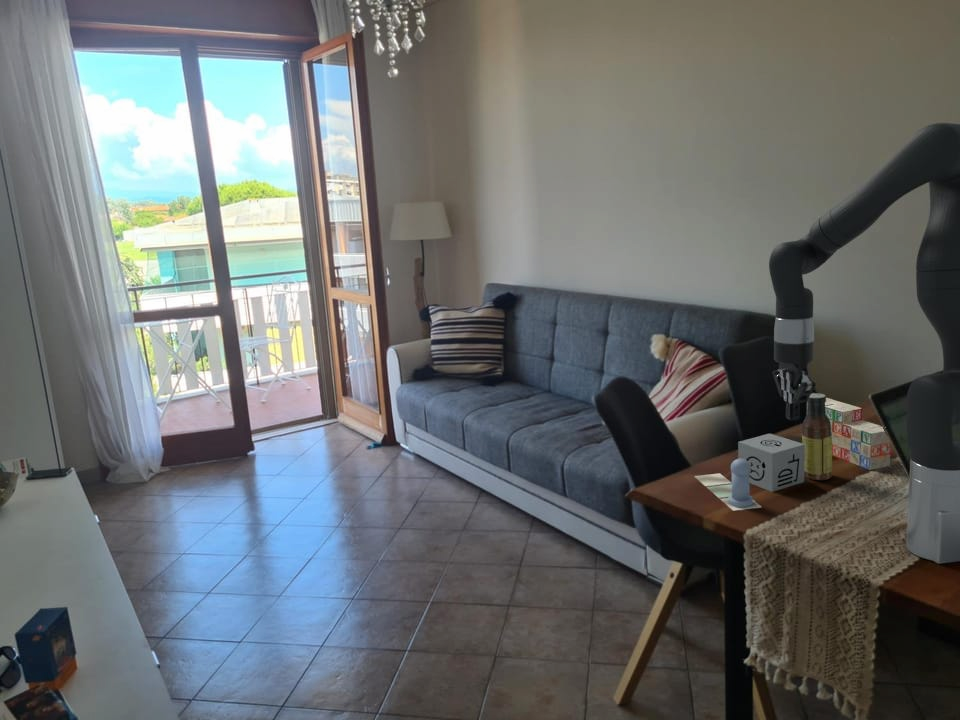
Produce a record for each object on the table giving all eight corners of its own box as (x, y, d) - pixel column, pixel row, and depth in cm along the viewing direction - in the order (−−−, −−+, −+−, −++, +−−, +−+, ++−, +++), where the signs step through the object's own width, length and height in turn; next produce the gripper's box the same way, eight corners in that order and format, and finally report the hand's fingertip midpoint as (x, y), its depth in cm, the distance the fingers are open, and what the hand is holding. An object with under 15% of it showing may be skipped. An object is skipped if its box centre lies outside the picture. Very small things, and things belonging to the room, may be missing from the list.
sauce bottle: (826, 471, 169) (828, 390, 165) (836, 481, 163) (838, 397, 159) (797, 472, 170) (798, 392, 166) (806, 482, 164) (808, 399, 160)
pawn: (757, 506, 151) (757, 461, 149) (734, 508, 151) (734, 464, 149) (746, 497, 156) (746, 454, 154) (724, 499, 156) (724, 456, 154)
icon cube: (804, 485, 162) (804, 444, 160) (772, 496, 158) (772, 453, 156) (769, 473, 171) (769, 433, 169) (738, 482, 167) (738, 441, 165)
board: (764, 511, 151) (764, 507, 150) (732, 515, 150) (732, 511, 150) (720, 476, 171) (720, 472, 171) (692, 479, 170) (692, 475, 170)
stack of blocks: (891, 466, 169) (893, 417, 167) (869, 471, 168) (871, 421, 165) (825, 441, 190) (826, 396, 187) (805, 444, 188) (806, 400, 186)
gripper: (830, 342, 140) (827, 426, 144) (793, 331, 153) (792, 409, 157) (793, 346, 140) (792, 430, 143) (760, 335, 152) (760, 412, 156)
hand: (792, 419), depth 150 cm, fingers closed
